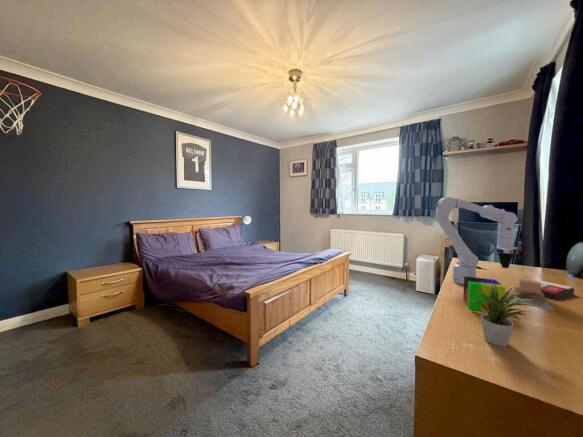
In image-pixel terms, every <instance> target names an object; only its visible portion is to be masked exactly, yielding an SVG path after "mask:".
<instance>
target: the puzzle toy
mask: <svg viewBox="0 0 583 437" xmlns="http://www.w3.org/2000/svg"><path fill="white" fill-rule="evenodd" d="M495 284H496V286H497V291H498V294H499V300H500V298H501V297H502V296H503V295H504V294H505V291H506V287H505V286H504V285H503V284H501V282H499V281H498V279H492V278H482V277H476V278H475V277H465V276H464V284H463V298H462V299H463V301H464V303H465V304H466V306H467V307H468V311H471V310H472V312H478V311H479V312H480V313H481V309H482V308H483V307H482V306H481V305H479V304H478V303H476V302H474V301H472V300H478V301H480V302H481V303H483V304H484V305H485V306H486V307H487V309H488V310H489V308H488V306H487V305H488V304H486V303H487V302H486V300H485V298H484V297H483V295H482V294H481V292H480V291H479V290H478V288H479V289H480V290H482V291H483V292H484V293H485V295H486V296H488V297H489V298H490V293H489V292H490V289H491V285H493V286H494V288H495ZM488 291H489V292H488ZM477 293H478V294H479V295H480V296H481V297H482V298H483V299H484V300H483V299H482V298H481V297H480V296H479V295H478V294H477ZM485 302H486V303H485ZM483 309H485V308H483ZM489 311H490V310H489ZM479 312H478V313H479Z"/></svg>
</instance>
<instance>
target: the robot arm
mask: <svg viewBox="0 0 583 437" xmlns="http://www.w3.org/2000/svg"><path fill="white" fill-rule="evenodd" d="M454 209H465V210H469V211H472V212H475V213H477V214H479V216H480V217H481V218H485V219H488V220H491V221H494V222H497V238H496V239H497V241H496V242H497V243H496V249H495V250H496V253H497V255H498V260H499V263H500V265H501V267H502V268H503V269H509V268H510V264H511V261H512V259H513V258H514V257H515V253H512V251H513V250H517V247H516V246H515V247H514V241H515V240H514V239H515V224H516V223H517V222H518V220H519V217H517V215H516V213H515V212H511V211H506V209H504V208H501V209H500V208H497V207H495V206H494V205H493V204H489V205H487V204H486V205H483V206H481V205H479V204H476V203H473V202H469V201H466V200H463V199H460V198H454V197H450V196H447V197H441V198H439V199H438V201H437V203H436V204H435V219H436V221H437V223H438V224H439V226H440V227H441V229H442V231H443V232H444V234H445V235H446V238H448V240H449V242H450V243H451V245H452V246H453V248H454V249H455V253H456V254H457V255H456V256H457V259H458V261H459V262H458V264H457V263H454V264H453V270H452V275H451V277H452V283H453V284H461V285H464V276H465V277H475V278H477V265H478V264H479V258H478V256H477V255H476V254H475V253H473V252H472V250H471V249H470V248H469V247H468V246H467V245H466V243H465V242H464V240H463V239H462V237H461V236H460V233H458V231H457V230H456V227H455V226H454V225H453V223H452V222H451V220H450V219H449V217H450V214H451V213H452V211H453V210H454Z"/></svg>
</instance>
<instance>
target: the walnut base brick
mask: <svg viewBox="0 0 583 437" xmlns="http://www.w3.org/2000/svg"><path fill="white" fill-rule="evenodd" d="M514 292H515V293H517V292H520V293H519V294H517V295H516V296H517V297H520V298H526V299H533V300H539V301H544V298H546V297H545V295H544V294H543V293H542V292H541V294H537V293H531V292H524V291H520V290H519V286H518V287H517V286H514Z"/></svg>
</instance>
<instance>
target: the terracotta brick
mask: <svg viewBox="0 0 583 437" xmlns="http://www.w3.org/2000/svg"><path fill="white" fill-rule="evenodd" d="M518 288H519V290H520V291H524V292H531V293H537V294H541V284H540V282H538V280H537V281H536V280H528V279H523V278H522V279H521V278H518Z"/></svg>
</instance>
